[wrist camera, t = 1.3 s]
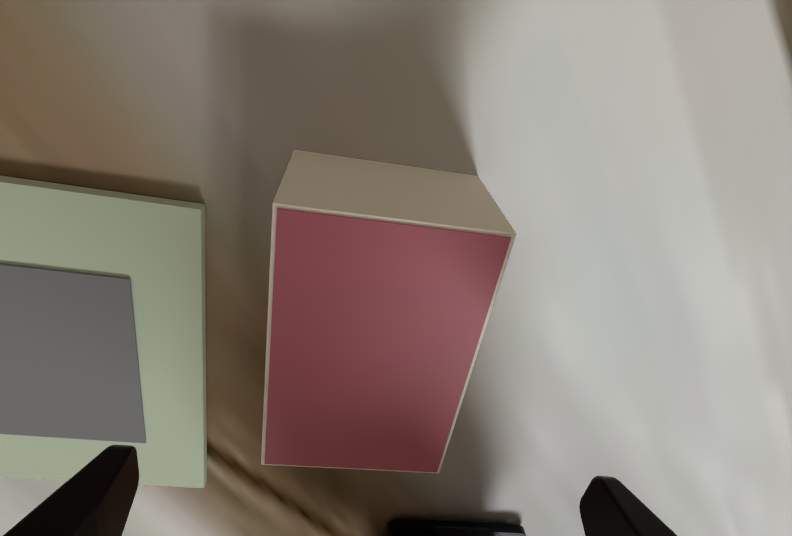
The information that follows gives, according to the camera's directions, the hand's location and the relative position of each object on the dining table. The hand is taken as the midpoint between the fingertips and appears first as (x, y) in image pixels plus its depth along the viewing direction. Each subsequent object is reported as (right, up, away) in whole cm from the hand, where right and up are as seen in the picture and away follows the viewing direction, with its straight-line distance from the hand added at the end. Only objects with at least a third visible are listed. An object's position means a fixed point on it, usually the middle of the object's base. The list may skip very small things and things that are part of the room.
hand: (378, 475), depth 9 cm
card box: (-1, +4, +6) cm, 7 cm away
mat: (-13, +2, +6) cm, 14 cm away
